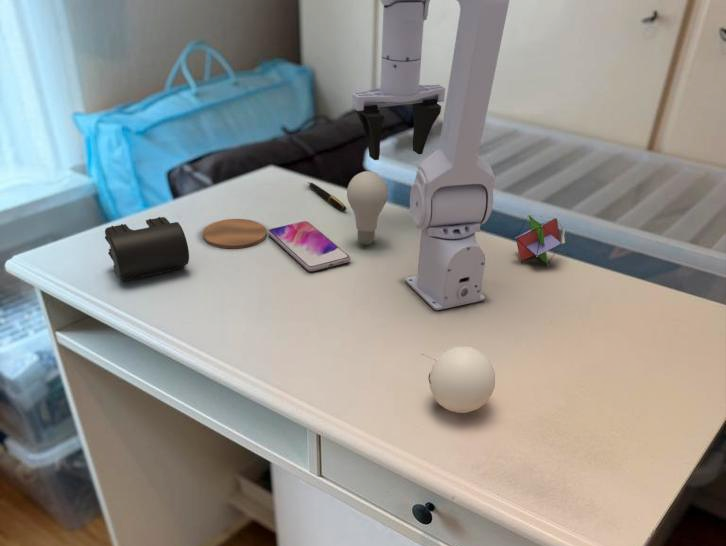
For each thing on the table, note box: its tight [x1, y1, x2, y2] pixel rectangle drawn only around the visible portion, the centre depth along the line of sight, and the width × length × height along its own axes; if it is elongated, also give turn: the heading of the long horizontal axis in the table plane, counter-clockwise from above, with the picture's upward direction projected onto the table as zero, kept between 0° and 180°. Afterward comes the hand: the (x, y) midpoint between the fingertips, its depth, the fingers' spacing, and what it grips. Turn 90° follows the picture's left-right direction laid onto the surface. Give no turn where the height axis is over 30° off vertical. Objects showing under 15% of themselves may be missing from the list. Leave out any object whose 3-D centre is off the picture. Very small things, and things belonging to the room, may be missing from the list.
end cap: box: [104, 216, 190, 282], centre depth 102 cm, size 10×7×7 cm
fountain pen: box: [307, 181, 347, 212], centre depth 125 cm, size 14×1×2 cm, turn 31°
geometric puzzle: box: [515, 214, 566, 266], centre depth 108 cm, size 7×7×8 cm
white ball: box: [421, 345, 496, 414], centre depth 80 cm, size 10×7×7 cm
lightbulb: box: [346, 171, 389, 246], centre depth 109 cm, size 6×6×11 cm
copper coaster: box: [202, 218, 267, 249], centre depth 114 cm, size 10×10×1 cm
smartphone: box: [267, 220, 351, 272], centre depth 111 cm, size 7×1×15 cm
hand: (396, 155), depth 113 cm, fingers open, 7 cm apart
